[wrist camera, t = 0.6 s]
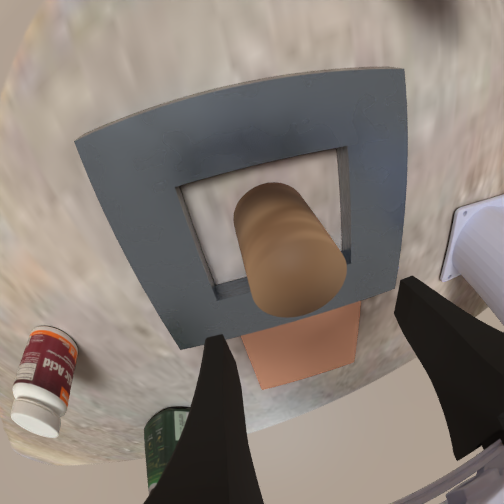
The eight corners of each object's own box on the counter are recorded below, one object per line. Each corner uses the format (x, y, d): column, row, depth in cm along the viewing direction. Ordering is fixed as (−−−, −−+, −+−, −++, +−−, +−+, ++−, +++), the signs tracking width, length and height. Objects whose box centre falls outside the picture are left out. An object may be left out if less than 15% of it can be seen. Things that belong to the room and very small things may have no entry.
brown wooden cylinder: (301, 174, 17) (346, 228, 12) (308, 237, 19) (346, 302, 14) (225, 193, 17) (240, 256, 12) (242, 255, 19) (260, 327, 14)
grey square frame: (388, 66, 13) (404, 69, 12) (385, 276, 23) (394, 288, 22) (84, 133, 13) (74, 141, 12) (180, 334, 22) (180, 349, 21)
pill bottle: (89, 353, 22) (76, 440, 16) (54, 361, 22) (38, 439, 16) (55, 318, 20) (29, 411, 13) (21, 329, 20) (-5, 411, 13)
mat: (358, 294, 23) (361, 298, 23) (352, 358, 29) (354, 362, 29) (239, 329, 23) (240, 334, 23) (261, 385, 29) (261, 389, 29)
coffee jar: (190, 436, 35) (207, 556, 21) (137, 426, 32) (145, 557, 17) (228, 411, 32) (256, 556, 17) (166, 399, 28) (182, 565, 13)
